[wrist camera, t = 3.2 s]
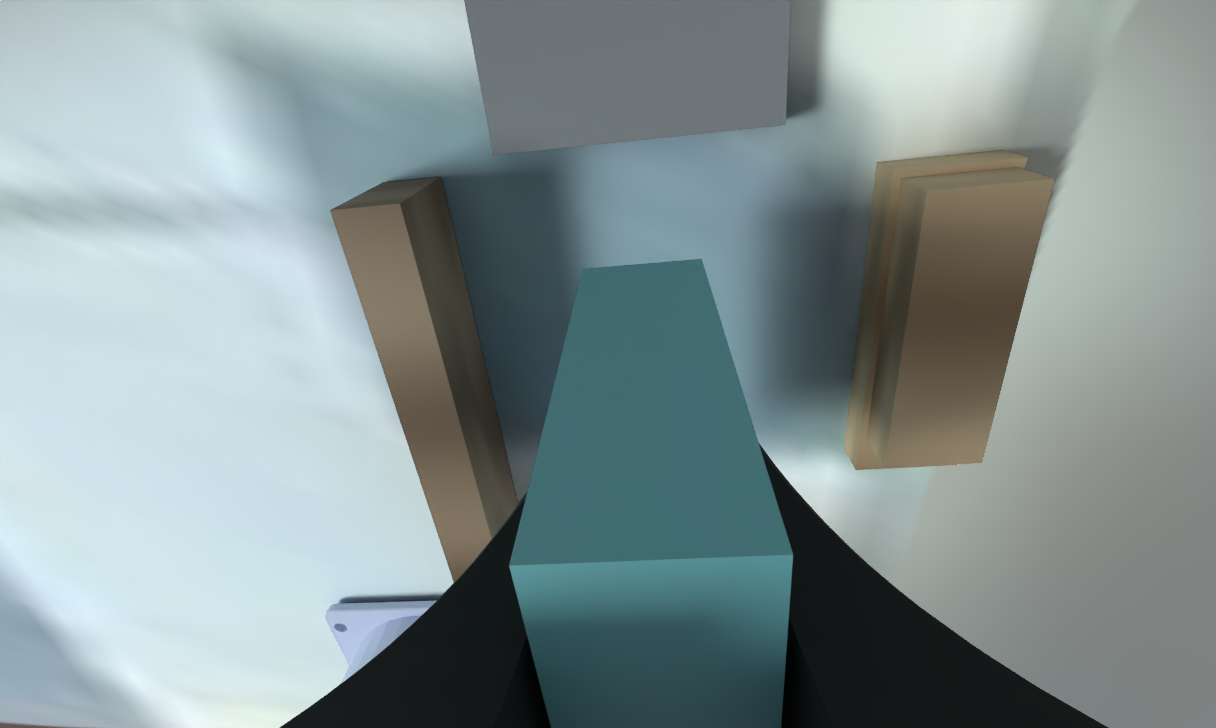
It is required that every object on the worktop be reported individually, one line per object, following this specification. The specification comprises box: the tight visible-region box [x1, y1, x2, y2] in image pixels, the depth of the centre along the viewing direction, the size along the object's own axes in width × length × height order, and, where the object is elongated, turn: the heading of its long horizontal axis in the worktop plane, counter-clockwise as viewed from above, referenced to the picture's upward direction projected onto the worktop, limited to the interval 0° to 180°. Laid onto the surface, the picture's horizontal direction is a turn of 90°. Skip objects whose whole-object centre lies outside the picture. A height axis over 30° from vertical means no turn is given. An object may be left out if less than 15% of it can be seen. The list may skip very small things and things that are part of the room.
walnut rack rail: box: [330, 177, 518, 582], centre depth 17 cm, size 12×2×3 cm, turn 6°
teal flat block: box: [509, 259, 793, 728], centre depth 10 cm, size 7×2×8 cm, turn 6°
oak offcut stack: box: [845, 150, 1055, 470], centre depth 16 cm, size 9×3×3 cm, turn 6°
